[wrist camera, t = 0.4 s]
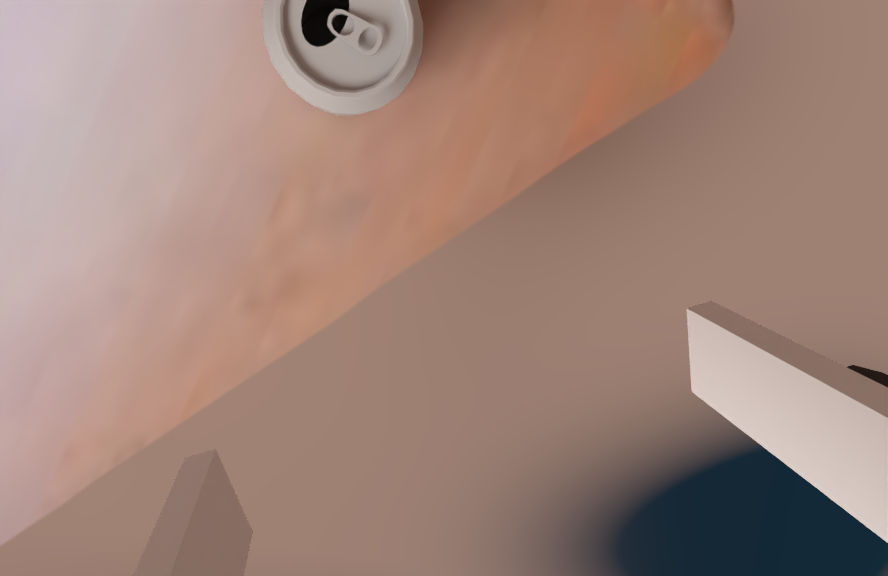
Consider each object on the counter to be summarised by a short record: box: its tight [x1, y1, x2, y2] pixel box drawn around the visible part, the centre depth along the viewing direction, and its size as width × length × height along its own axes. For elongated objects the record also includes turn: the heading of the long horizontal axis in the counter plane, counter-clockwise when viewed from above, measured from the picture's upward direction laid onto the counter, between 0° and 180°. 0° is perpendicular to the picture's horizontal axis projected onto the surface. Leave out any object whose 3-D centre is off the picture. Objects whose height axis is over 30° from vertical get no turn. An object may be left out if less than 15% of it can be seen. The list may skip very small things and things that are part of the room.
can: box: [262, 0, 424, 116], centre depth 29 cm, size 8×8×12 cm
